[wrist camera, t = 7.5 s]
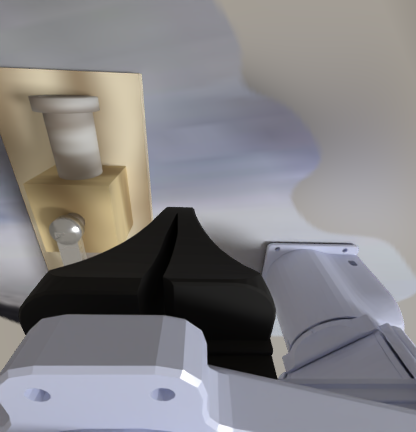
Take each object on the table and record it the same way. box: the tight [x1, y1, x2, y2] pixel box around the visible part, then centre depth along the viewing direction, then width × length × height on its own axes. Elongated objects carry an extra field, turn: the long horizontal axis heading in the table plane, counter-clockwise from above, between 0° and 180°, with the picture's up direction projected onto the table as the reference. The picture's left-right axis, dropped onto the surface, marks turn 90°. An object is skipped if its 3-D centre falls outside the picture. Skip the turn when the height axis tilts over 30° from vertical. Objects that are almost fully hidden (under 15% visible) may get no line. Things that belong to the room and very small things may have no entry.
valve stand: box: [0, 68, 153, 271], centre depth 20 cm, size 11×19×6 cm, turn 178°
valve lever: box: [49, 215, 87, 266], centre depth 19 cm, size 12×2×2 cm, turn 177°
